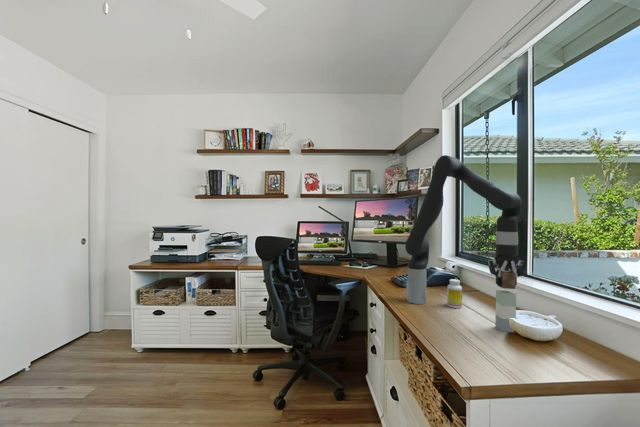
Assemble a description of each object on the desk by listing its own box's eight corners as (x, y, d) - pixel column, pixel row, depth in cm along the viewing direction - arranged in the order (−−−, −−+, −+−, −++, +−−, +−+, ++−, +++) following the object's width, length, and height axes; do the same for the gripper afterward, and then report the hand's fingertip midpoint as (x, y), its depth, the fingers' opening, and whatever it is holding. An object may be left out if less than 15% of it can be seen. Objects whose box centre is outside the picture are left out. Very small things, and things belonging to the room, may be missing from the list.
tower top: (502, 305, 112) (502, 293, 112) (495, 301, 117) (496, 289, 117) (516, 306, 112) (516, 293, 112) (509, 302, 117) (509, 290, 117)
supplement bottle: (463, 309, 139) (464, 282, 138) (448, 308, 140) (449, 281, 140) (459, 304, 145) (460, 279, 145) (445, 303, 146) (446, 278, 146)
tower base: (501, 331, 112) (502, 318, 112) (495, 326, 117) (495, 314, 117) (515, 332, 112) (515, 319, 112) (508, 327, 117) (508, 314, 117)
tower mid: (502, 318, 112) (502, 305, 112) (495, 314, 117) (495, 301, 117) (515, 319, 112) (516, 306, 112) (508, 314, 117) (508, 302, 117)
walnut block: (503, 288, 113) (503, 272, 113) (497, 285, 117) (497, 270, 117) (515, 288, 112) (515, 273, 112) (509, 286, 117) (509, 271, 117)
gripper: (520, 242, 118) (519, 284, 118) (483, 241, 119) (482, 283, 119) (531, 244, 110) (531, 289, 110) (492, 243, 112) (491, 288, 112)
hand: (505, 286), depth 115 cm, fingers closed on walnut block, 4 cm apart
